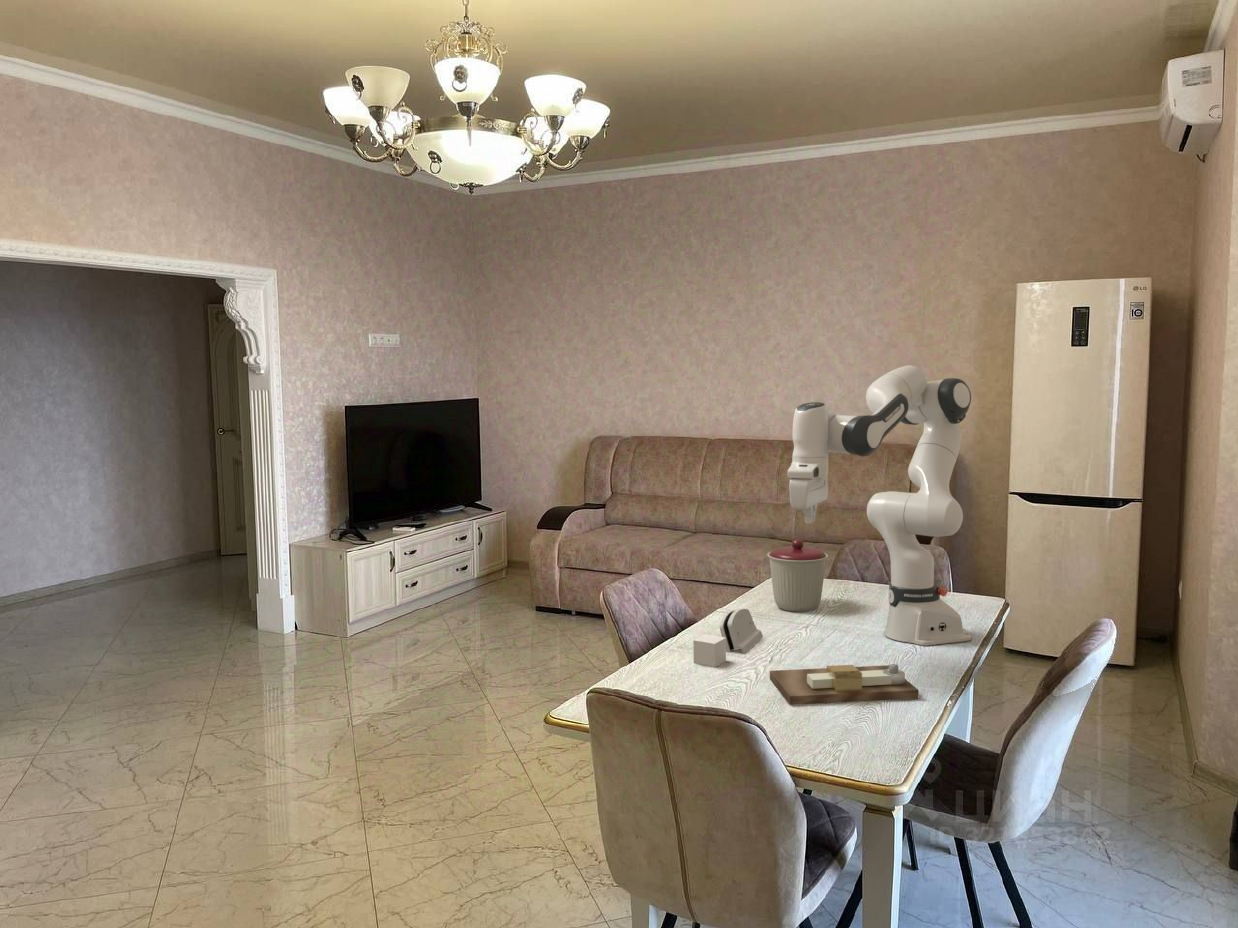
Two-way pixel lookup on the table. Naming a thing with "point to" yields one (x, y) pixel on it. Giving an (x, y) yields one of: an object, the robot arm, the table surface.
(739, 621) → the hinge
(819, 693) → the board
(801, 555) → the canister
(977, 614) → the table surface
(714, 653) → the light grey cube
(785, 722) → the table surface
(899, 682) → the link
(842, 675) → the block
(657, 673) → the table surface
